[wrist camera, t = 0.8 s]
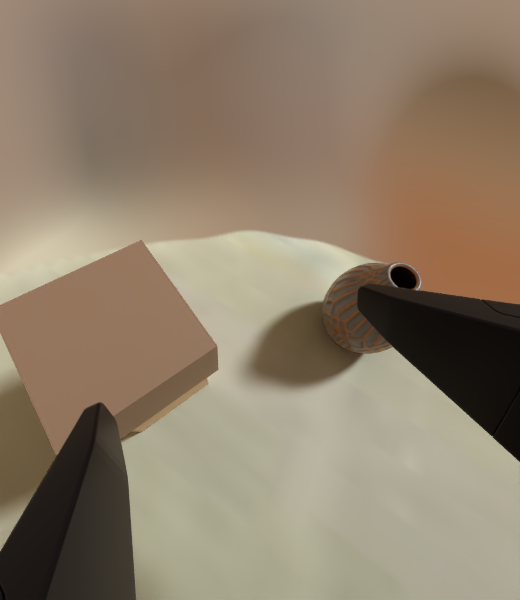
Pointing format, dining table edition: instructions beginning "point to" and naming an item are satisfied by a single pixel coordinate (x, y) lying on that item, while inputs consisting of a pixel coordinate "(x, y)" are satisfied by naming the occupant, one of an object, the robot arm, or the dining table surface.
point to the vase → (343, 304)
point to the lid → (106, 343)
